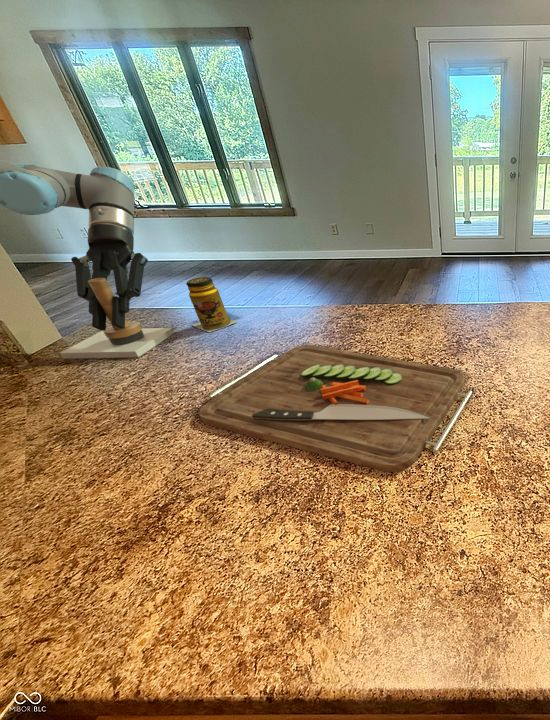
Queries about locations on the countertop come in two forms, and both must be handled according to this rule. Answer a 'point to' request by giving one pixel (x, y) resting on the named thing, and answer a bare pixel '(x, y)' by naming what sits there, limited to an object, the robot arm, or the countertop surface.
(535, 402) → the countertop surface
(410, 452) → the chopping board
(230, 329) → the countertop surface
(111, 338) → the brush
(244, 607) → the countertop surface
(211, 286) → the condiment
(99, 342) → the tile
